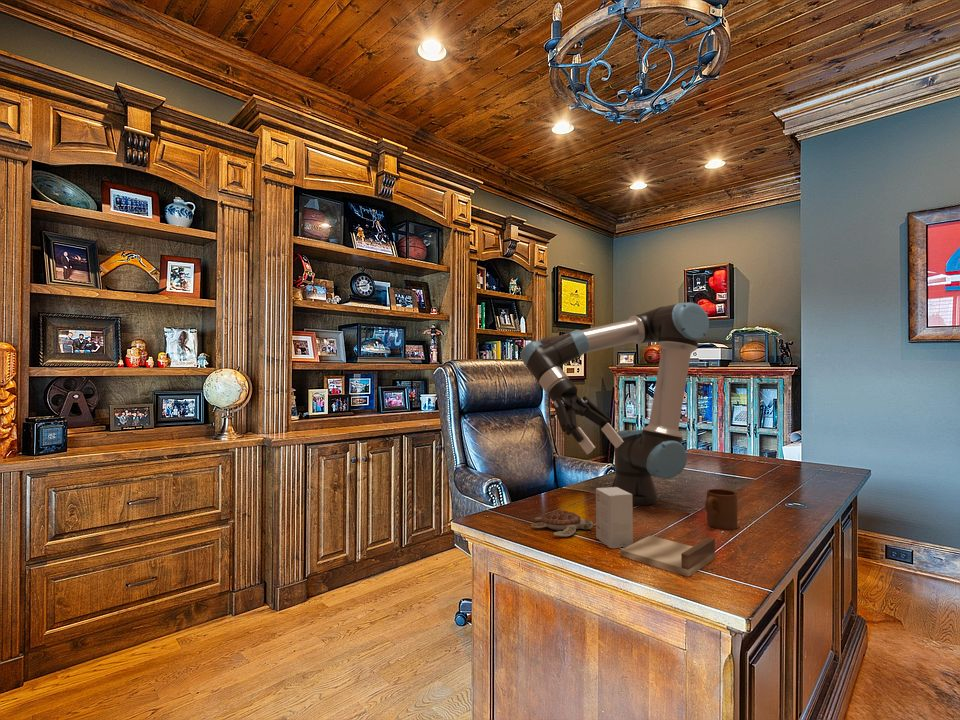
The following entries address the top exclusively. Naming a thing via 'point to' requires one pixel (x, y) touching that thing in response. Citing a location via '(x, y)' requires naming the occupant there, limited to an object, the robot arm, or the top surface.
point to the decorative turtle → (563, 523)
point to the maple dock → (672, 554)
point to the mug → (721, 509)
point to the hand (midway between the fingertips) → (606, 448)
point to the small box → (614, 517)
